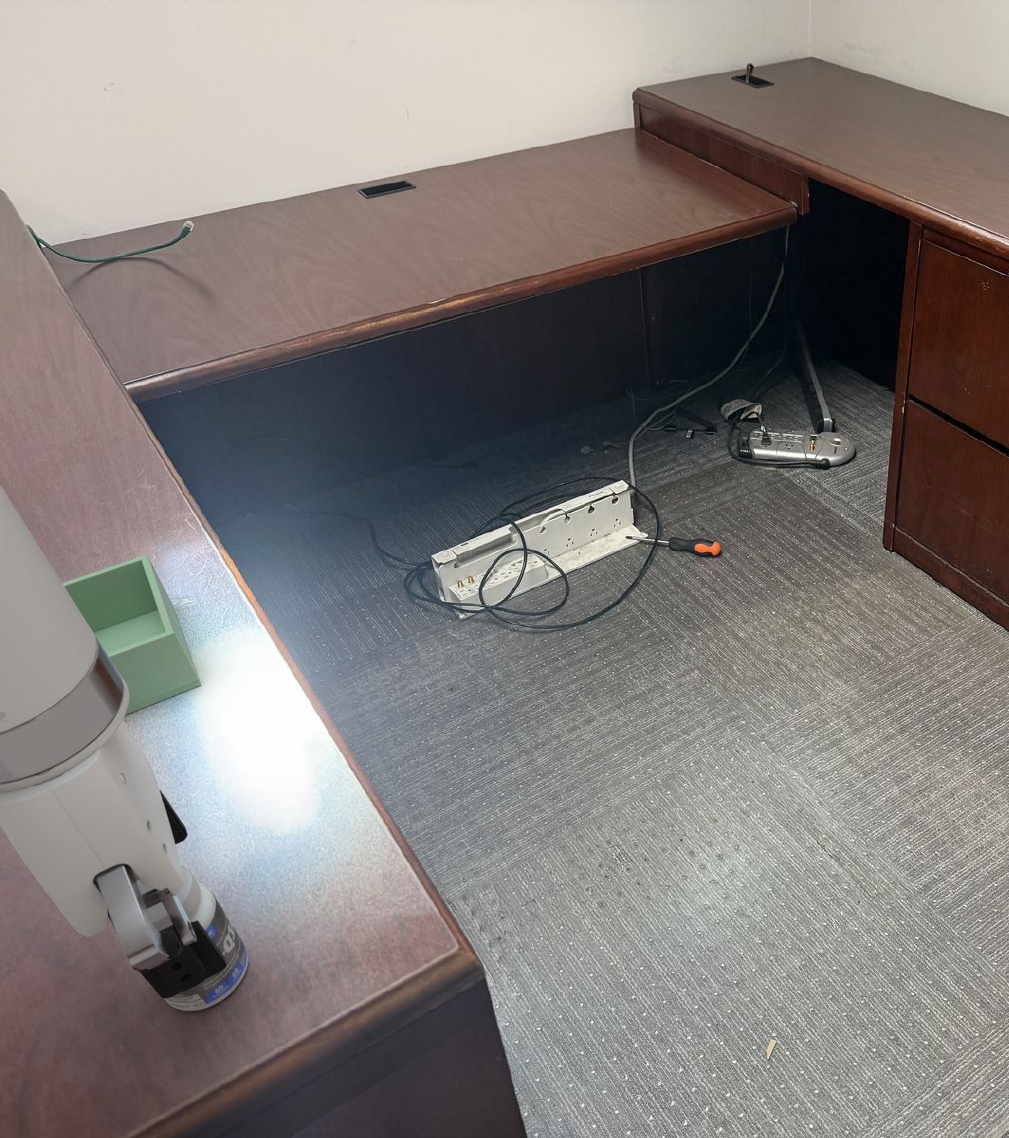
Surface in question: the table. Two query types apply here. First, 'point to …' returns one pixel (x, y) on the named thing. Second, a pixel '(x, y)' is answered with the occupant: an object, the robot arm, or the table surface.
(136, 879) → the robot arm
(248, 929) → the table surface
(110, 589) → the bin
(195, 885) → the pill bottle
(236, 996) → the table surface
